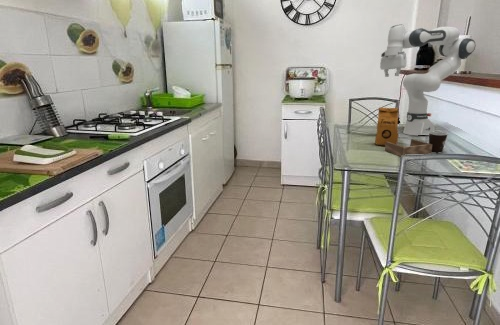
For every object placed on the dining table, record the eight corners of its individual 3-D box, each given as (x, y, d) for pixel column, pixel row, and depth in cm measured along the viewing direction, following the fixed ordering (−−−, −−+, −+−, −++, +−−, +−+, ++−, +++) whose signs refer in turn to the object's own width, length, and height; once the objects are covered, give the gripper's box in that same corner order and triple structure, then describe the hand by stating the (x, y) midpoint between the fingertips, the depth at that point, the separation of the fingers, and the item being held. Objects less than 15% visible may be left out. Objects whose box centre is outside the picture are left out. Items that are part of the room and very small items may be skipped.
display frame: (411, 147, 188) (412, 138, 187) (431, 153, 176) (432, 144, 174) (384, 150, 183) (385, 141, 182) (403, 157, 170) (404, 147, 169)
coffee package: (396, 147, 188) (400, 109, 182) (373, 145, 194) (376, 108, 187) (398, 144, 196) (402, 107, 190) (376, 142, 202) (379, 106, 196)
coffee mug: (435, 154, 174) (438, 135, 171) (422, 150, 182) (425, 132, 179) (452, 152, 177) (455, 134, 174) (439, 148, 185) (442, 130, 182)
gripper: (410, 51, 191) (407, 75, 194) (388, 55, 211) (385, 77, 214) (401, 50, 190) (398, 75, 193) (379, 54, 209) (377, 76, 212)
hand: (391, 76), depth 203 cm, fingers open, 8 cm apart
